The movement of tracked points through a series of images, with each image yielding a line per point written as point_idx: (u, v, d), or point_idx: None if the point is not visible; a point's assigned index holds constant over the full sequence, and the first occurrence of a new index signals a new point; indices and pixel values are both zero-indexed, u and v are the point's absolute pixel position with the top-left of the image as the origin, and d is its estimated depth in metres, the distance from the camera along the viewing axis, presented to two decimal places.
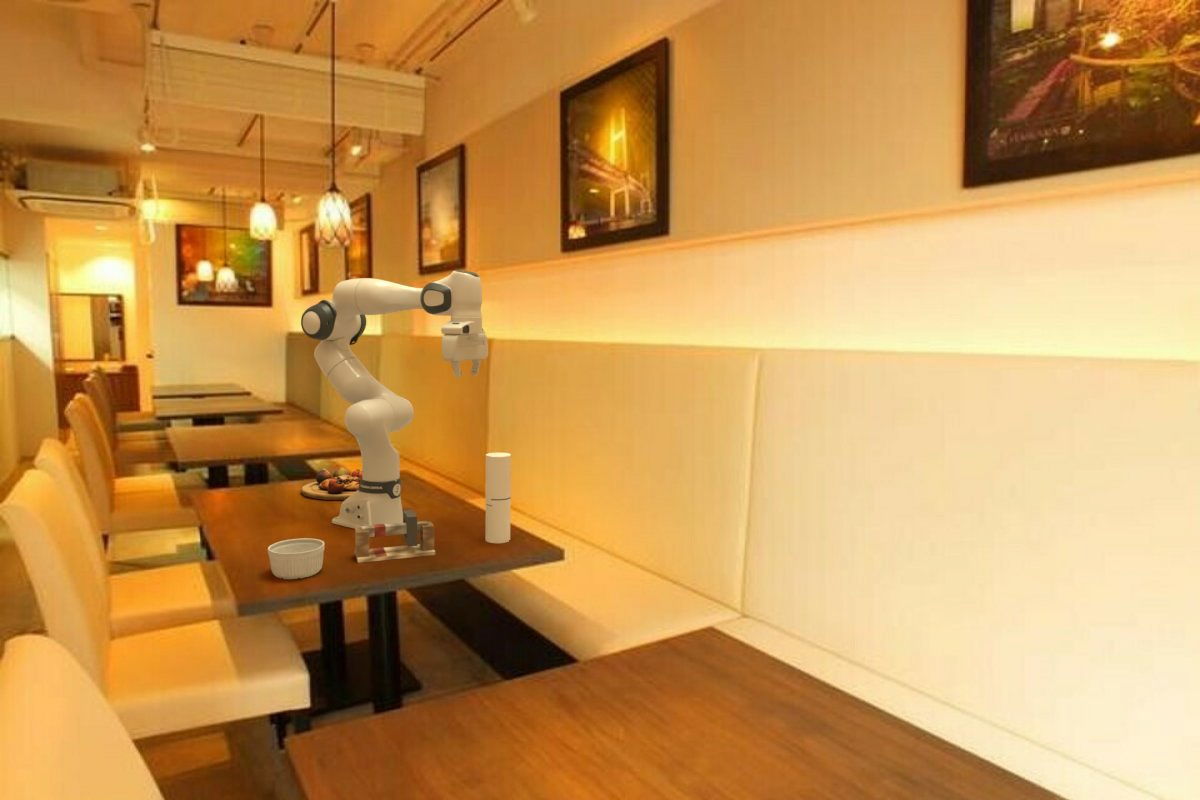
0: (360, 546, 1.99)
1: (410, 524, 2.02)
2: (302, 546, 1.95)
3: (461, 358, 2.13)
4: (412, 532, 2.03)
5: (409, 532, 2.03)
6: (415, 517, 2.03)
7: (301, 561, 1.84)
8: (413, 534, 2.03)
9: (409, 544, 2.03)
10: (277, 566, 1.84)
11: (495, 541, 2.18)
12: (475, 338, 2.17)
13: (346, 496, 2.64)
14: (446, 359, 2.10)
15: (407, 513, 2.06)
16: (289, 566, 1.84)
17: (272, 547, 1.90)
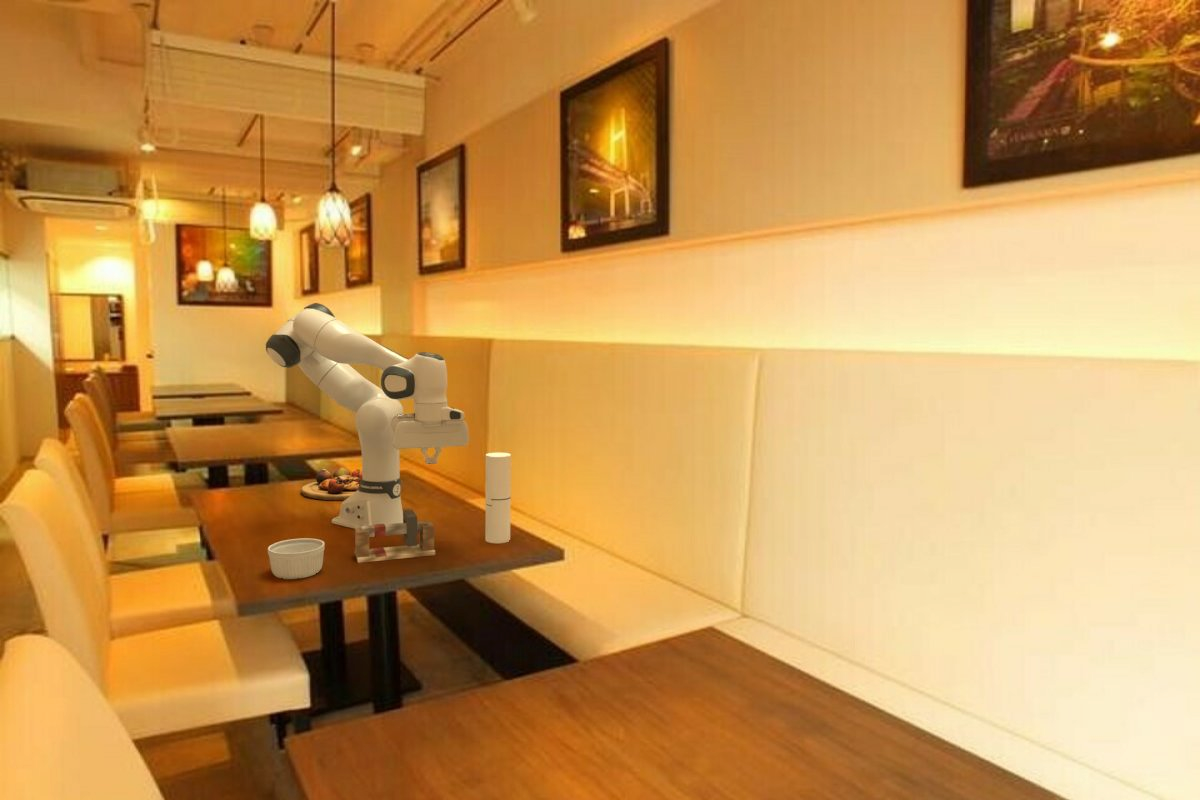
0: (360, 546, 1.99)
1: (410, 524, 2.02)
2: (302, 546, 1.95)
3: None
4: (412, 532, 2.03)
5: (409, 532, 2.03)
6: (415, 517, 2.03)
7: (301, 561, 1.84)
8: (413, 534, 2.03)
9: (409, 544, 2.03)
10: (277, 566, 1.84)
11: (495, 541, 2.18)
12: None
13: (346, 496, 2.64)
14: None
15: (407, 513, 2.06)
16: (289, 566, 1.84)
17: (272, 547, 1.90)
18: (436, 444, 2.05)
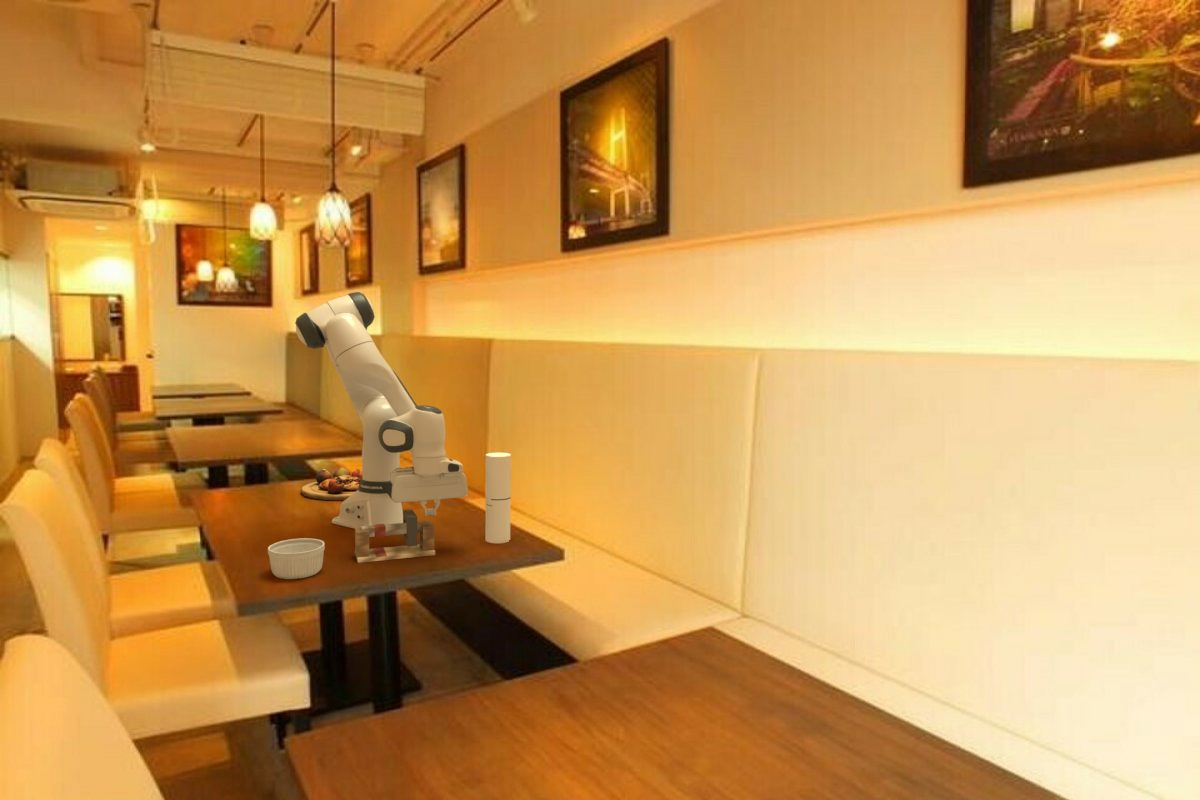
0: (360, 546, 1.99)
1: (410, 524, 2.02)
2: (302, 546, 1.95)
3: None
4: (412, 532, 2.03)
5: (409, 532, 2.03)
6: (415, 517, 2.03)
7: (301, 561, 1.84)
8: (413, 534, 2.03)
9: (409, 544, 2.03)
10: (277, 566, 1.84)
11: (495, 541, 2.18)
12: None
13: (346, 496, 2.64)
14: None
15: (407, 513, 2.06)
16: (289, 566, 1.84)
17: (272, 547, 1.90)
18: (435, 496, 2.06)
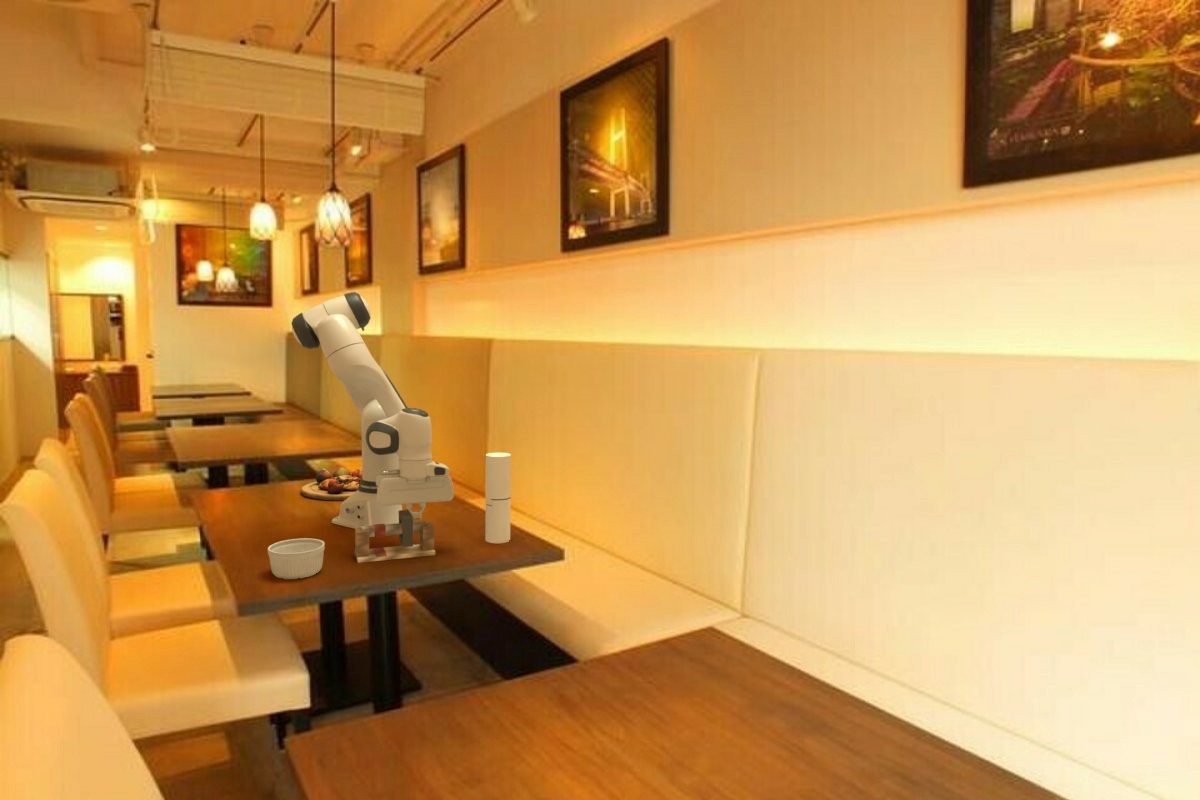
0: (360, 546, 1.99)
1: (405, 524, 2.02)
2: (302, 546, 1.95)
3: None
4: (408, 532, 2.02)
5: (405, 532, 2.02)
6: (411, 517, 2.02)
7: (300, 561, 1.84)
8: (409, 535, 2.03)
9: (405, 544, 2.02)
10: (277, 566, 1.84)
11: (495, 541, 2.18)
12: None
13: (346, 496, 2.64)
14: None
15: (403, 513, 2.05)
16: (289, 566, 1.84)
17: (272, 547, 1.90)
18: (420, 500, 2.05)
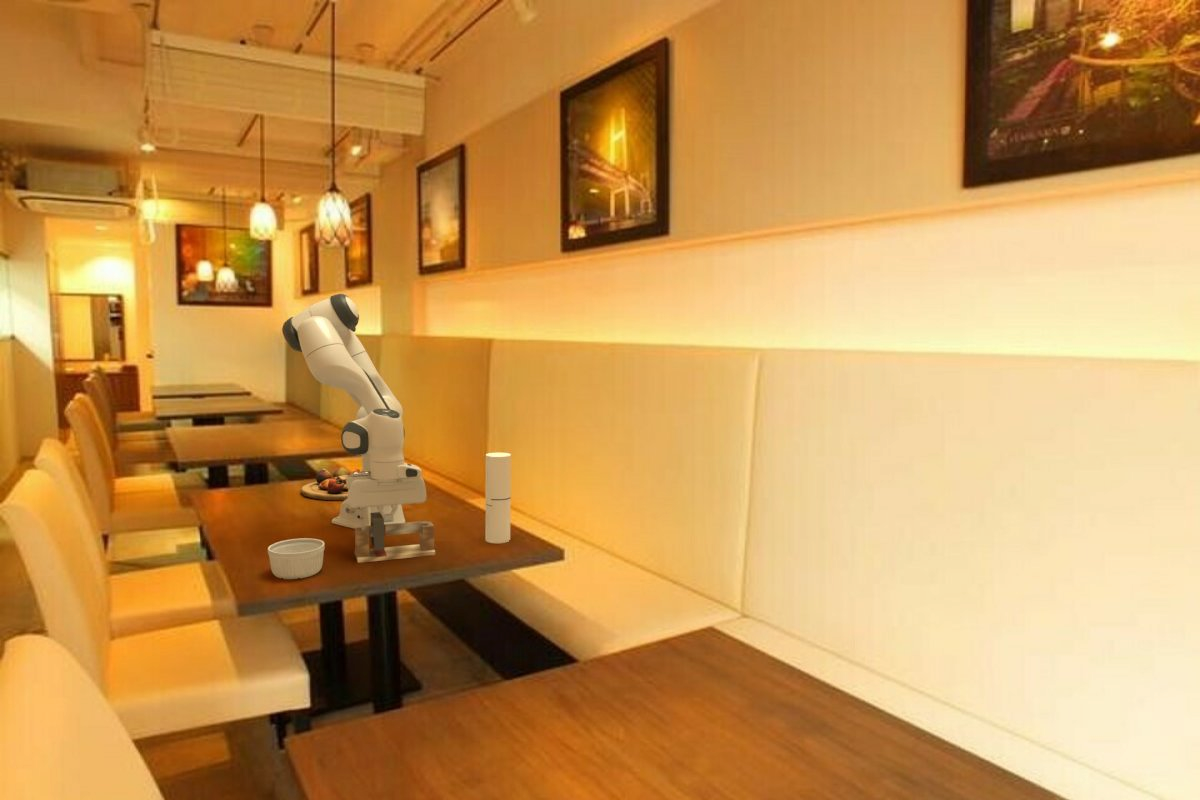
0: (360, 546, 1.99)
1: (376, 527, 1.99)
2: (302, 546, 1.95)
3: None
4: (379, 535, 2.00)
5: (376, 535, 1.99)
6: (382, 520, 2.00)
7: (300, 561, 1.84)
8: (380, 537, 2.00)
9: (376, 547, 2.00)
10: (277, 566, 1.84)
11: (495, 541, 2.18)
12: None
13: (346, 496, 2.64)
14: None
15: (374, 516, 2.03)
16: (289, 566, 1.84)
17: (272, 547, 1.90)
18: (392, 502, 2.02)
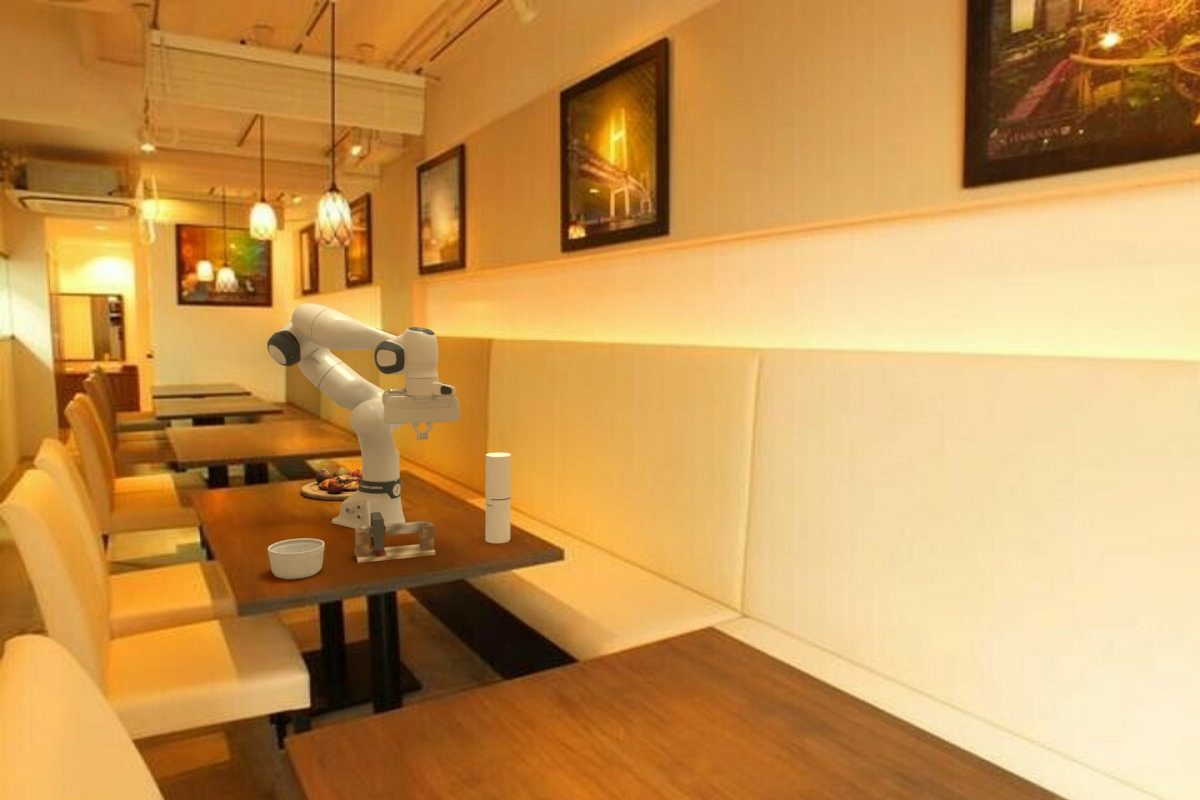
0: (360, 546, 1.99)
1: (376, 527, 1.99)
2: (302, 546, 1.95)
3: None
4: (379, 535, 2.00)
5: (375, 535, 1.99)
6: (382, 520, 1.99)
7: (301, 561, 1.84)
8: (380, 537, 2.00)
9: (376, 547, 2.00)
10: (277, 566, 1.84)
11: (495, 541, 2.18)
12: None
13: (346, 496, 2.64)
14: None
15: (374, 516, 2.03)
16: (289, 566, 1.84)
17: (272, 547, 1.90)
18: (427, 419, 2.05)
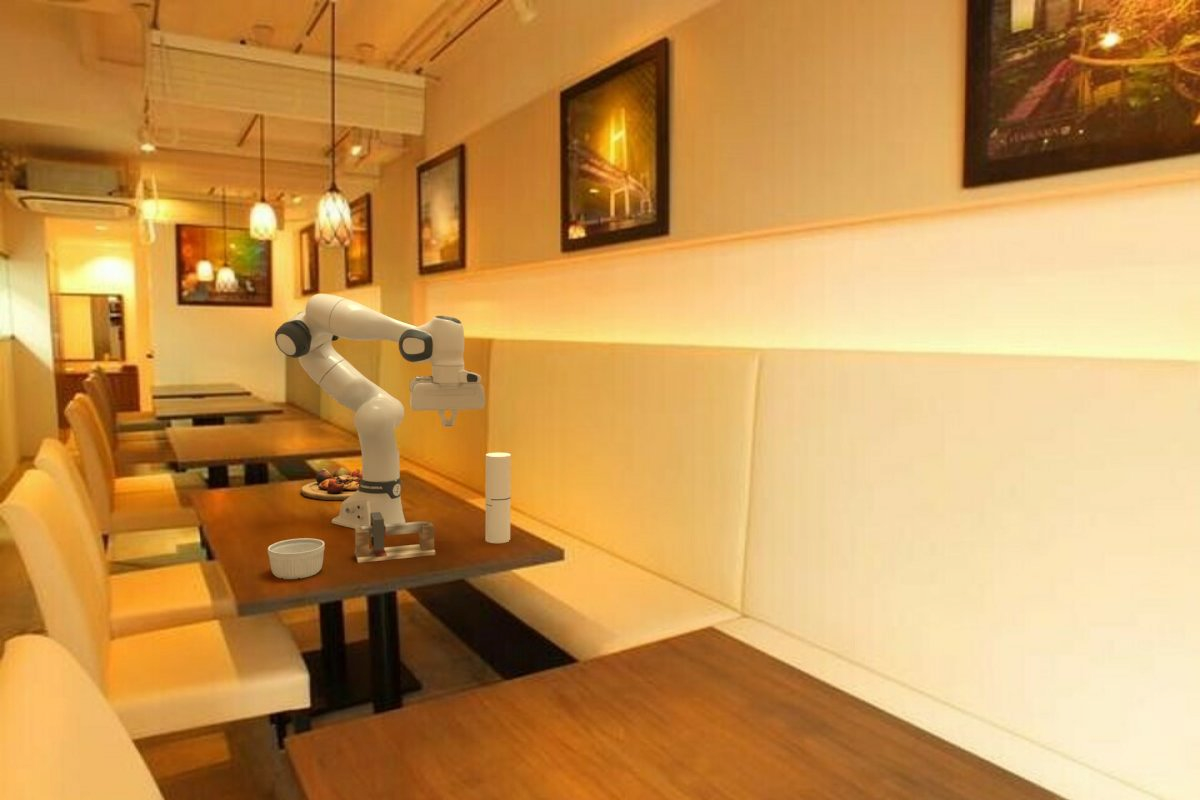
0: (360, 546, 1.99)
1: (376, 527, 1.99)
2: (302, 546, 1.95)
3: None
4: (379, 535, 2.00)
5: (375, 535, 1.99)
6: (382, 520, 1.99)
7: (301, 561, 1.84)
8: (380, 537, 2.00)
9: (376, 547, 2.00)
10: (277, 566, 1.84)
11: (495, 541, 2.18)
12: None
13: (346, 496, 2.64)
14: None
15: (374, 516, 2.03)
16: (289, 566, 1.84)
17: (272, 547, 1.90)
18: (453, 406, 2.08)
